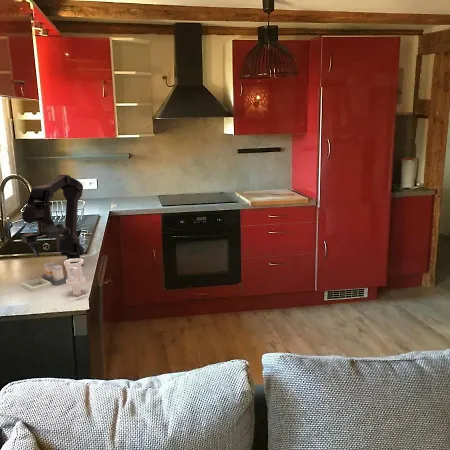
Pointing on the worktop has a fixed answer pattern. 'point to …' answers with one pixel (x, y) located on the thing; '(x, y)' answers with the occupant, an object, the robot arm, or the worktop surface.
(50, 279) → the fuse board
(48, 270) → the marked fuse
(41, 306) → the worktop surface
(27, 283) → the tray
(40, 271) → the worktop surface
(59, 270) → the block
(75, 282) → the white tall plastic piece
